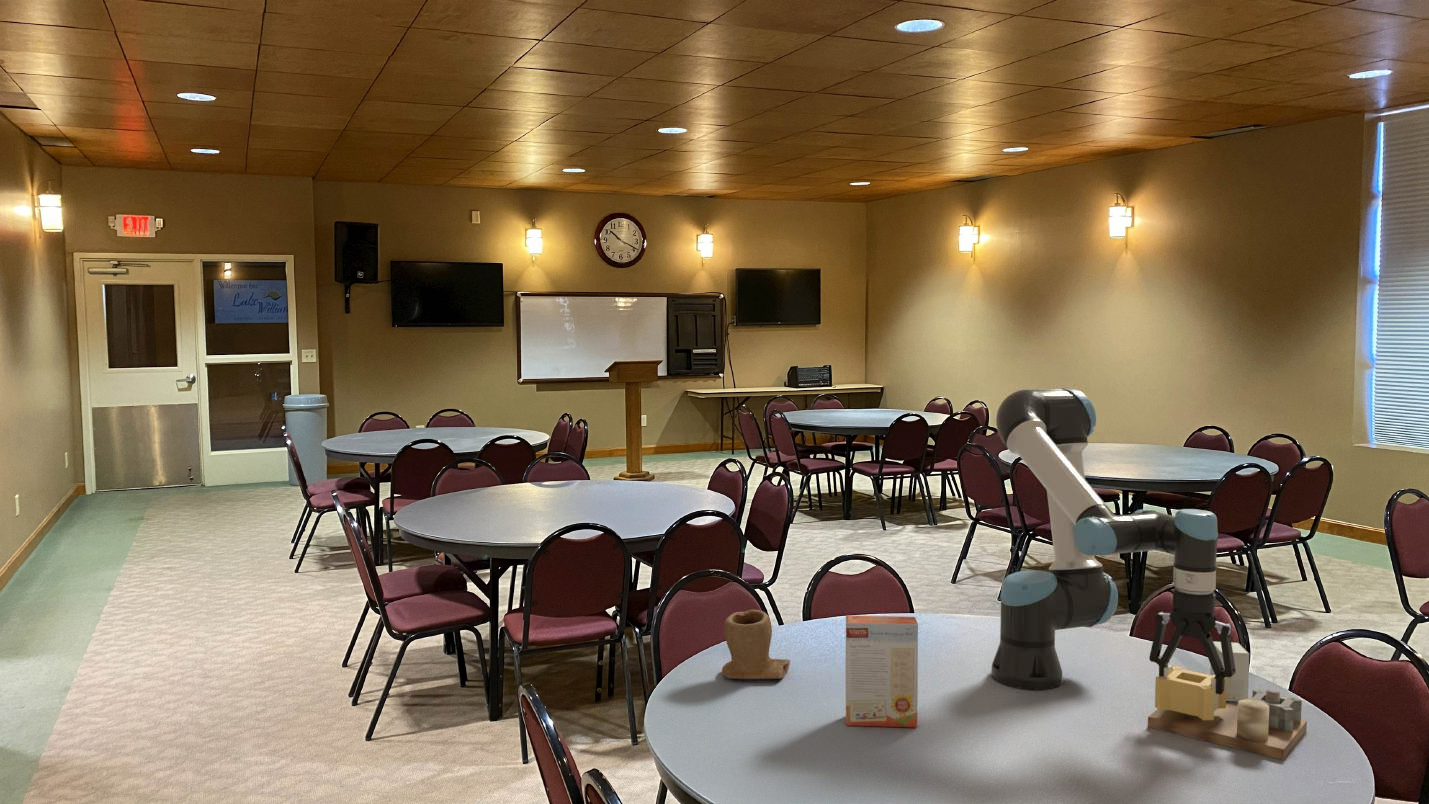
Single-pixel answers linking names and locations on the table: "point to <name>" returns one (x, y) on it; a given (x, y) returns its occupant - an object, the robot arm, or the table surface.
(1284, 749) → the board
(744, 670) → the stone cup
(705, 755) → the table surface
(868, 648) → the cracker box
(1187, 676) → the tan notched block
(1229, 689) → the small box
